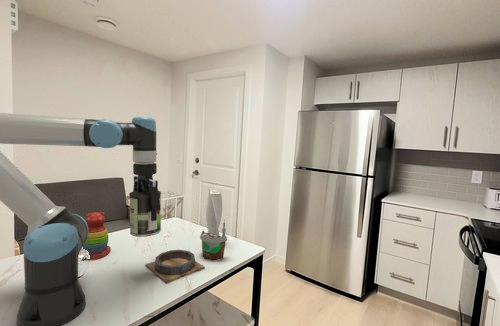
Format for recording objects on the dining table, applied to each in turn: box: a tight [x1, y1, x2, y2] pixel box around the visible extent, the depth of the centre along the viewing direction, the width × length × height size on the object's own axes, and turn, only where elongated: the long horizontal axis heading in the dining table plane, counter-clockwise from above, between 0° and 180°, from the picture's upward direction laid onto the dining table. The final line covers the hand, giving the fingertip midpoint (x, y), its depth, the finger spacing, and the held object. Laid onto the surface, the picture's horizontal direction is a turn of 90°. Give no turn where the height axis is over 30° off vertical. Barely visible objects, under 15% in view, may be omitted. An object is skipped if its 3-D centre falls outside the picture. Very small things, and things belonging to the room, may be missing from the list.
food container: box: [199, 230, 228, 262], centre depth 110 cm, size 12×6×10 cm, turn 65°
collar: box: [154, 249, 196, 275], centre depth 100 cm, size 14×14×3 cm
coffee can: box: [128, 190, 162, 238], centre depth 92 cm, size 10×10×14 cm
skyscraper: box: [205, 187, 226, 237], centre depth 121 cm, size 8×8×28 cm
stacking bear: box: [82, 211, 112, 261], centre depth 107 cm, size 11×10×18 cm
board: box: [144, 258, 206, 284], centre depth 101 cm, size 16×16×1 cm
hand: (145, 225), depth 93 cm, fingers closed on coffee can, 10 cm apart
